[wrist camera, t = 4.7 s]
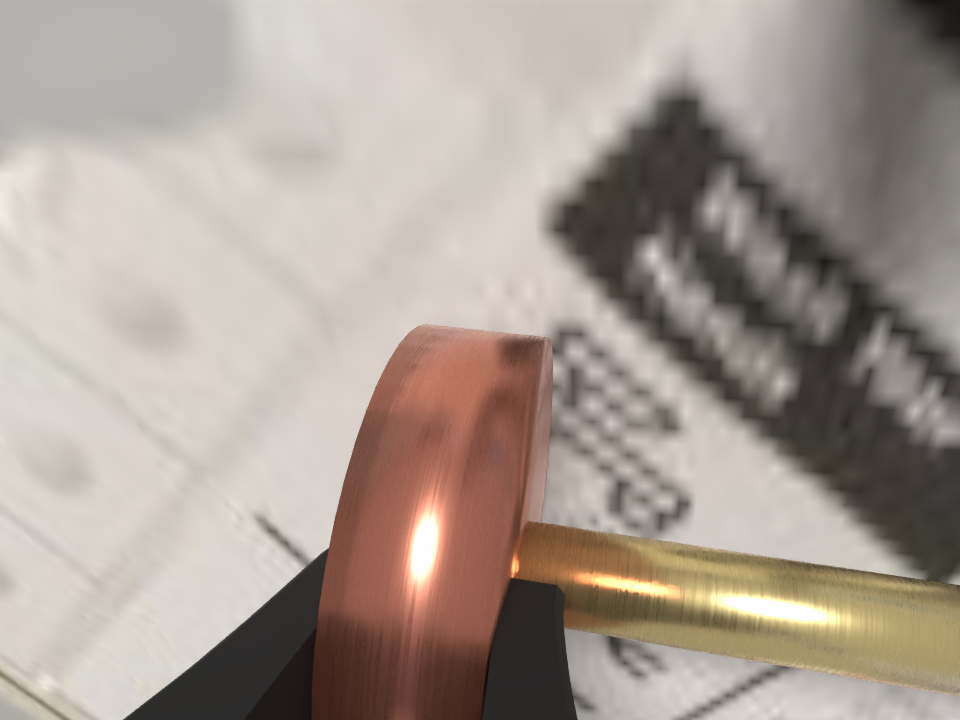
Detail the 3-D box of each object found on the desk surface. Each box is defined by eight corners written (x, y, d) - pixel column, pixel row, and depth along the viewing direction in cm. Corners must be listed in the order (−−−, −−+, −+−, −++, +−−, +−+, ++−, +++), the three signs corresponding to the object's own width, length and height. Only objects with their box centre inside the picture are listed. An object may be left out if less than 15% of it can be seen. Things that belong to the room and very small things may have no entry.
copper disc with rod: (1216, 334, 11) (1953, 753, 5) (1045, 669, 14) (1362, 1190, 8) (458, 263, 13) (287, 498, 7) (452, 571, 16) (331, 929, 9)
